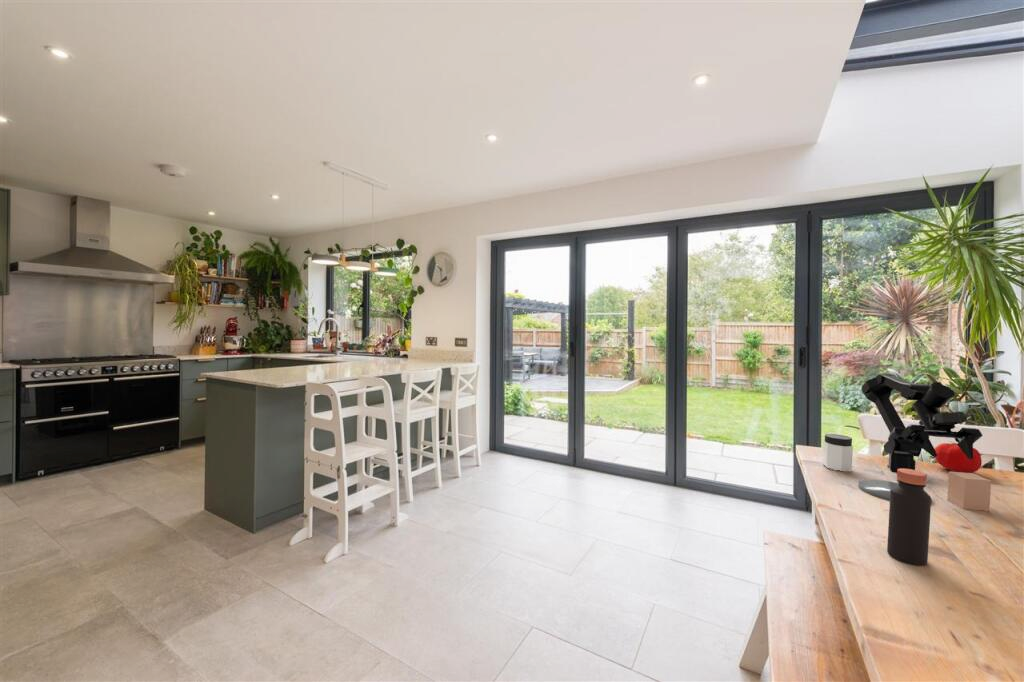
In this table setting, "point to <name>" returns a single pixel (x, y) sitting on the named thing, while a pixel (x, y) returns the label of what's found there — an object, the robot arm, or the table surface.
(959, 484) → the tan rectangular block
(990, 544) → the table surface
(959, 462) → the tomato
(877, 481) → the plate
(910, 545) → the bottle
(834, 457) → the jar
